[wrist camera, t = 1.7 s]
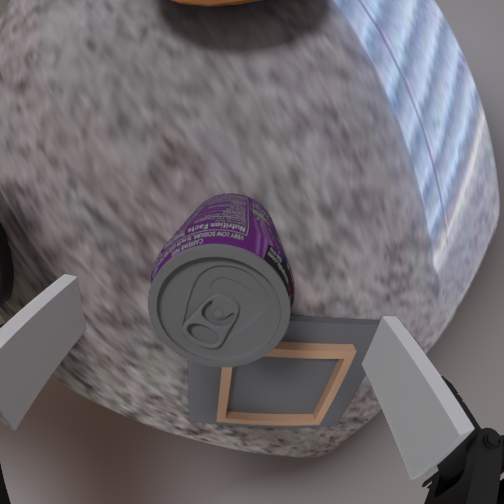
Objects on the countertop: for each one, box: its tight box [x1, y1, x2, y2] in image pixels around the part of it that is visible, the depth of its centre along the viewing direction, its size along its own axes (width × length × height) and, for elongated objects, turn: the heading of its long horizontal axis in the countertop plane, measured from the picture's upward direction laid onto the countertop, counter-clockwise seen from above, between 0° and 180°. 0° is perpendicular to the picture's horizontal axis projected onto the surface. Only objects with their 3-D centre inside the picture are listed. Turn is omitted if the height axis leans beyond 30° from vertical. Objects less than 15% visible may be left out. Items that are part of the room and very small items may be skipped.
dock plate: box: [188, 315, 381, 428], centre depth 27 cm, size 20×18×2 cm
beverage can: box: [148, 194, 294, 368], centre depth 17 cm, size 7×7×12 cm
